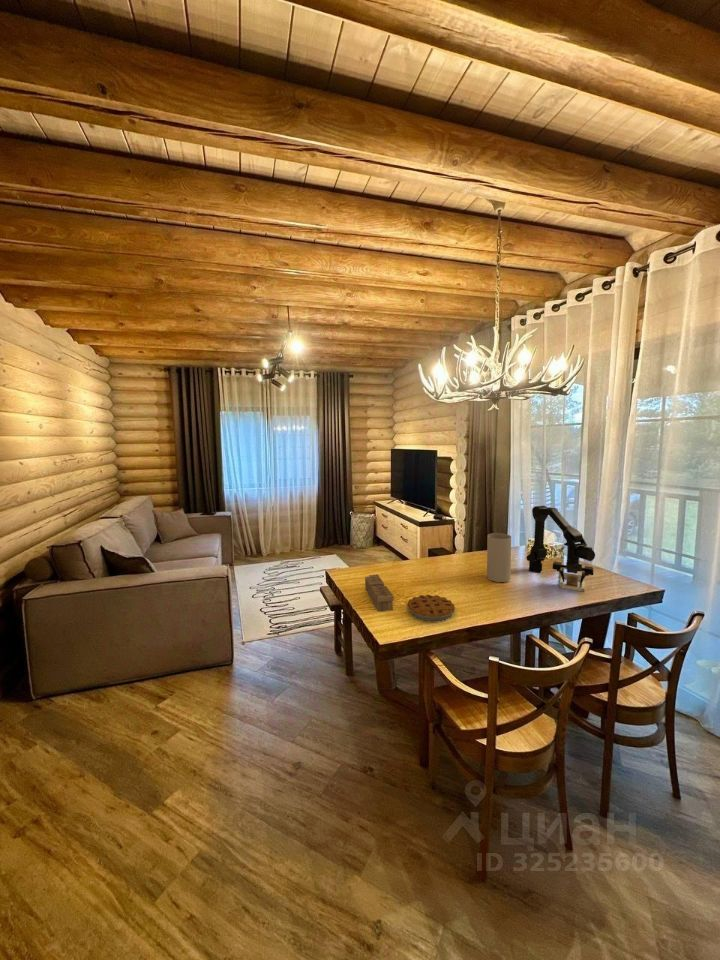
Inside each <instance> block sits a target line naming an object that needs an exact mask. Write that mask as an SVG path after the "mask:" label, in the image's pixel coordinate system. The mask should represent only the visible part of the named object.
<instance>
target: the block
mask: <svg viewBox="0 0 720 960" xmlns="http://www.w3.org/2000/svg"><path fill="white" fill-rule="evenodd" d="M566 573H567V579H566V584H565V585H569V586H575V587H579V586H578V583H579V581H578V575H579V574H576V575H574V573H569V574H568V572H566Z"/></svg>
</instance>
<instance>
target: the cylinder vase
mask: <svg viewBox="0 0 720 960" xmlns="http://www.w3.org/2000/svg"><path fill="white" fill-rule="evenodd" d="M486 544H487V546H486V547H487V550H486V552H487V553H486V579H488V580H489V581H491V582H493V581H495V582H494V583H499V582H504V583H508V582H509V581H510V580H511V570H512V569H511V566H512V565H511V564H512V558H511V557H512V535H510V534H507V533H501V532H493V533H489V534H487V541H486Z"/></svg>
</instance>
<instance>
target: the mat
mask: <svg viewBox="0 0 720 960" xmlns="http://www.w3.org/2000/svg"><path fill="white" fill-rule="evenodd" d="M567 573H568V572H564V580H567ZM568 574H570V573H568ZM573 574H574V573H573ZM574 575H578V583H580V580H581V575H582V574H574ZM558 579H561V574H560V573H559V575H558ZM583 581H585V578H584V579H583Z"/></svg>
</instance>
